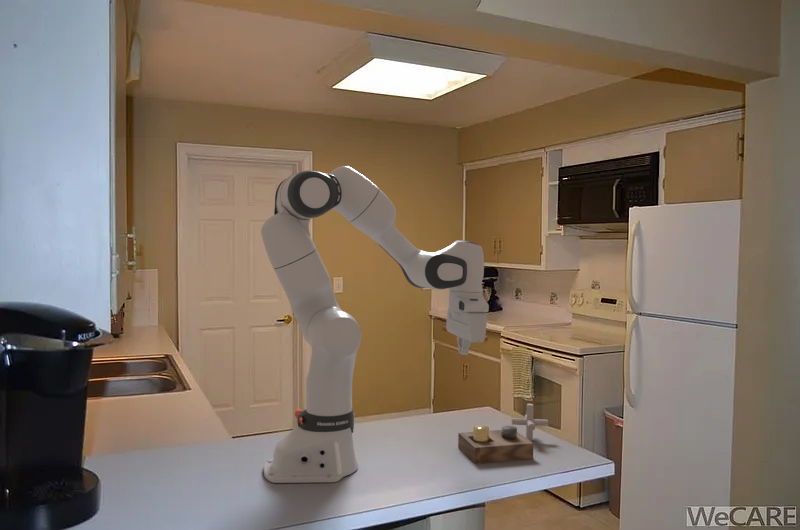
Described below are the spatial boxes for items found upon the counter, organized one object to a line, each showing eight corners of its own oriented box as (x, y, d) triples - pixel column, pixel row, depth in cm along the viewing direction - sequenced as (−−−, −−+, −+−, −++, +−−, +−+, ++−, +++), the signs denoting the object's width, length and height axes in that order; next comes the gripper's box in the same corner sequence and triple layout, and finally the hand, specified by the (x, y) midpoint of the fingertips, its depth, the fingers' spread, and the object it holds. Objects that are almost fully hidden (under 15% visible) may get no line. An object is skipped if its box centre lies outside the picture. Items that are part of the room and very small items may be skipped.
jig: (474, 463, 151) (475, 438, 151) (458, 447, 162) (458, 424, 162) (533, 458, 155) (533, 434, 155) (512, 443, 166) (513, 420, 166)
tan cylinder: (476, 457, 155) (476, 430, 155) (470, 452, 159) (471, 425, 159) (490, 456, 156) (491, 429, 156) (484, 450, 160) (485, 424, 160)
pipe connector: (544, 434, 174) (545, 400, 174) (550, 446, 164) (550, 410, 164) (509, 433, 175) (510, 399, 175) (512, 444, 165) (513, 408, 165)
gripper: (441, 298, 169) (439, 347, 169) (468, 305, 149) (465, 361, 149) (463, 298, 170) (460, 347, 171) (491, 306, 150) (489, 361, 151)
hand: (463, 354), depth 160 cm, fingers closed
